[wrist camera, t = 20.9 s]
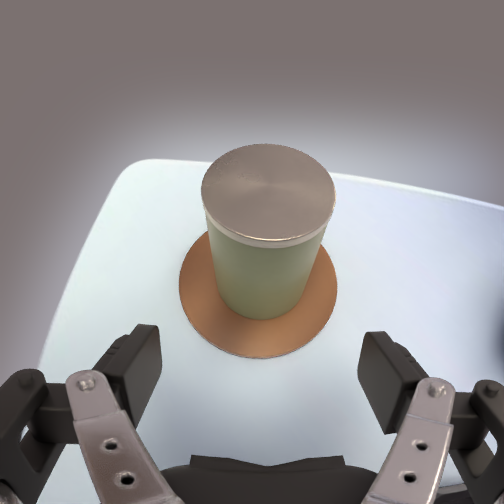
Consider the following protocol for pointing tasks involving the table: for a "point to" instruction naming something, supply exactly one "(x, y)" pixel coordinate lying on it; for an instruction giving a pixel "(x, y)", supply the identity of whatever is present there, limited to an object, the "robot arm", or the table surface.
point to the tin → (265, 225)
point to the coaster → (251, 330)
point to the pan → (453, 495)
